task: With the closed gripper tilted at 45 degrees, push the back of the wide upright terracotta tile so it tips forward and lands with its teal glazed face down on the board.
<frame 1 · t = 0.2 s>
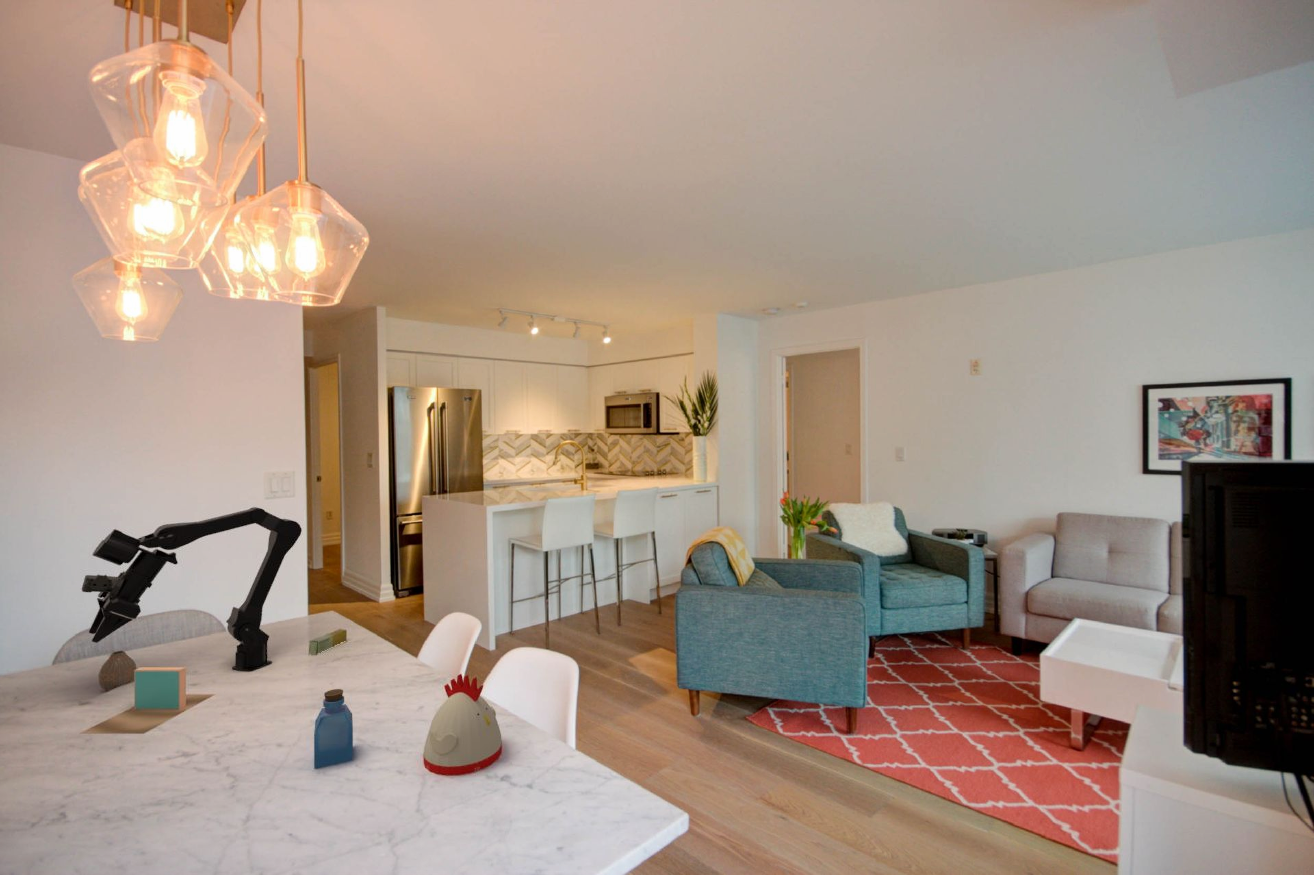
hand: (92, 637, 138), 15 cm above the table, tool tilted 35°, fingers open, 9 cm apart
perfume bottle: (333, 758, 113), on the table
medication box: (328, 649, 175), on the table
board: (152, 719, 130), on the table
vase: (118, 689, 146), on the table
tile: (160, 708, 132), point 1 cm above the table, touching board
kitchen timer: (463, 757, 113), on the table
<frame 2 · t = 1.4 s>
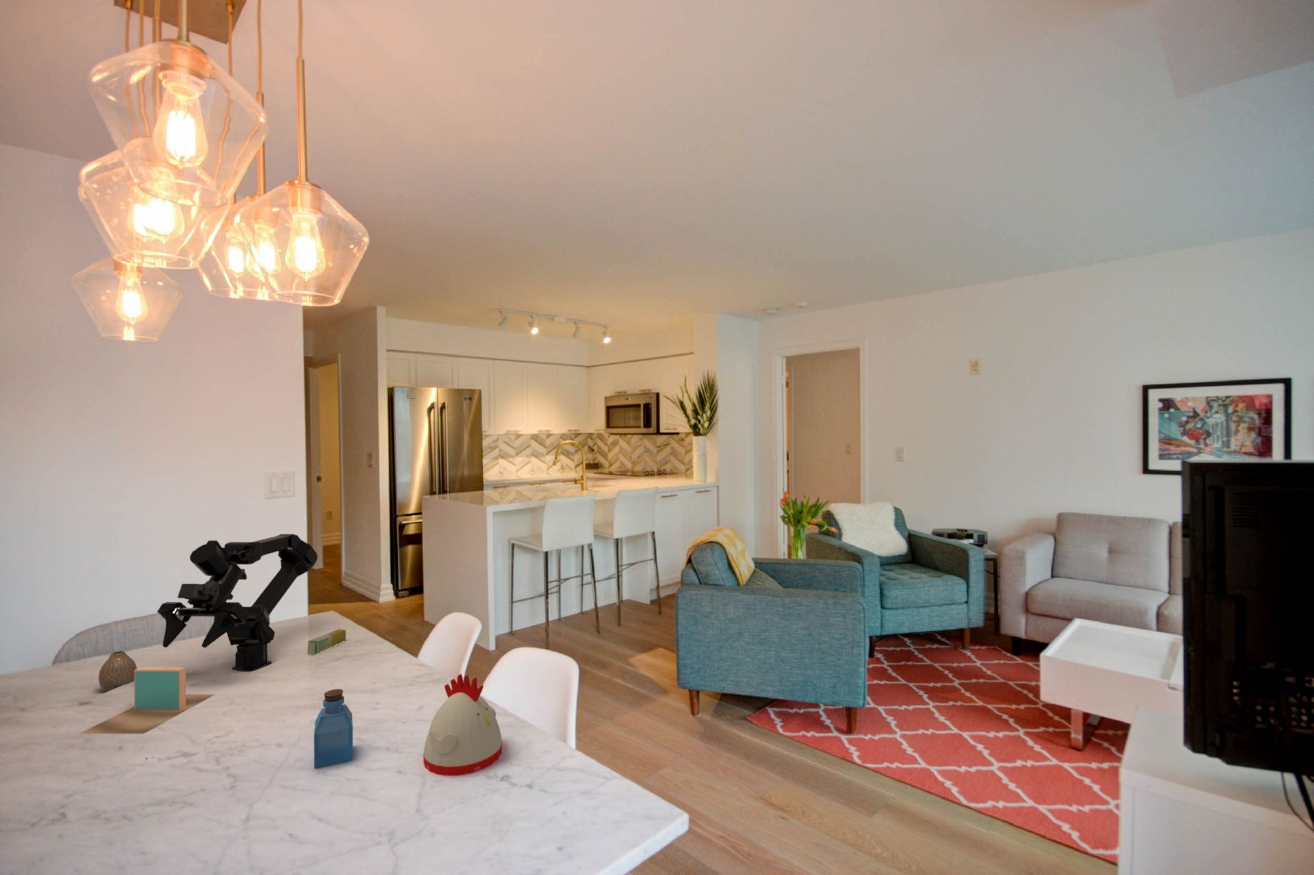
hand: (183, 646, 139), 12 cm above the table, tool tilted 45°, fingers open, 9 cm apart
nothing on the table moved.
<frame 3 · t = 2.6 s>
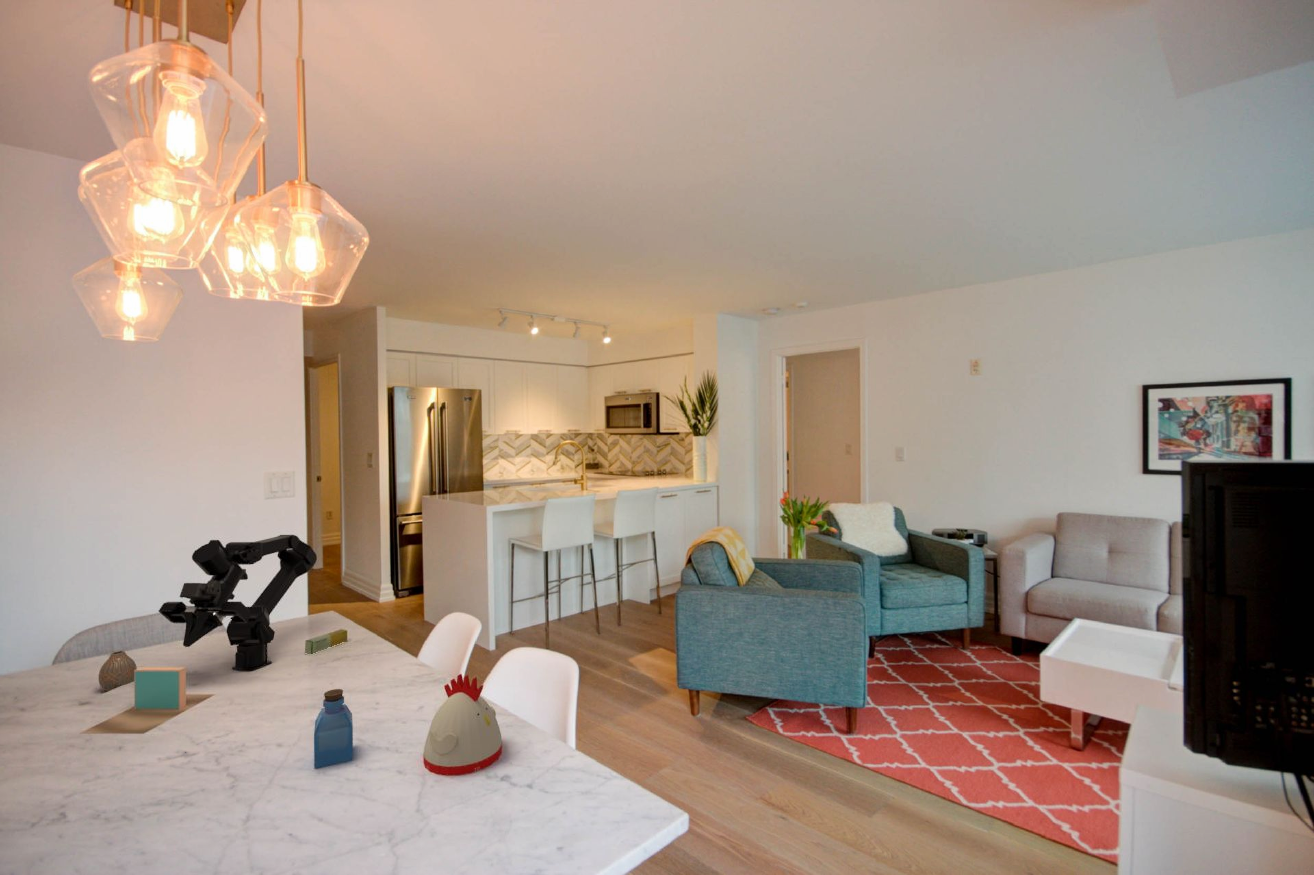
hand: (185, 646, 139), 13 cm above the table, tool tilted 45°, fingers closed
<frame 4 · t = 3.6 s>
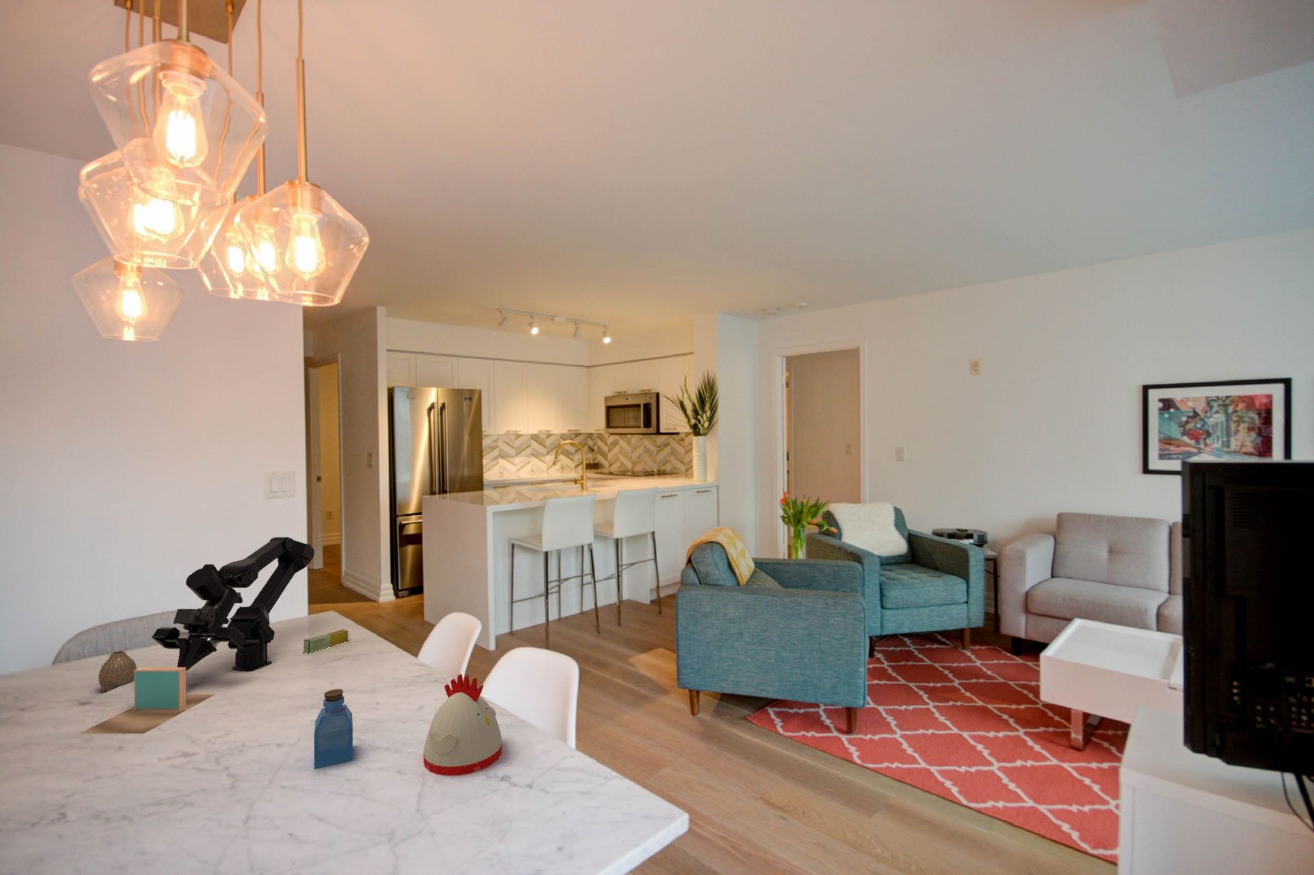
hand: (179, 673, 137), 7 cm above the table, tool tilted 45°, fingers closed
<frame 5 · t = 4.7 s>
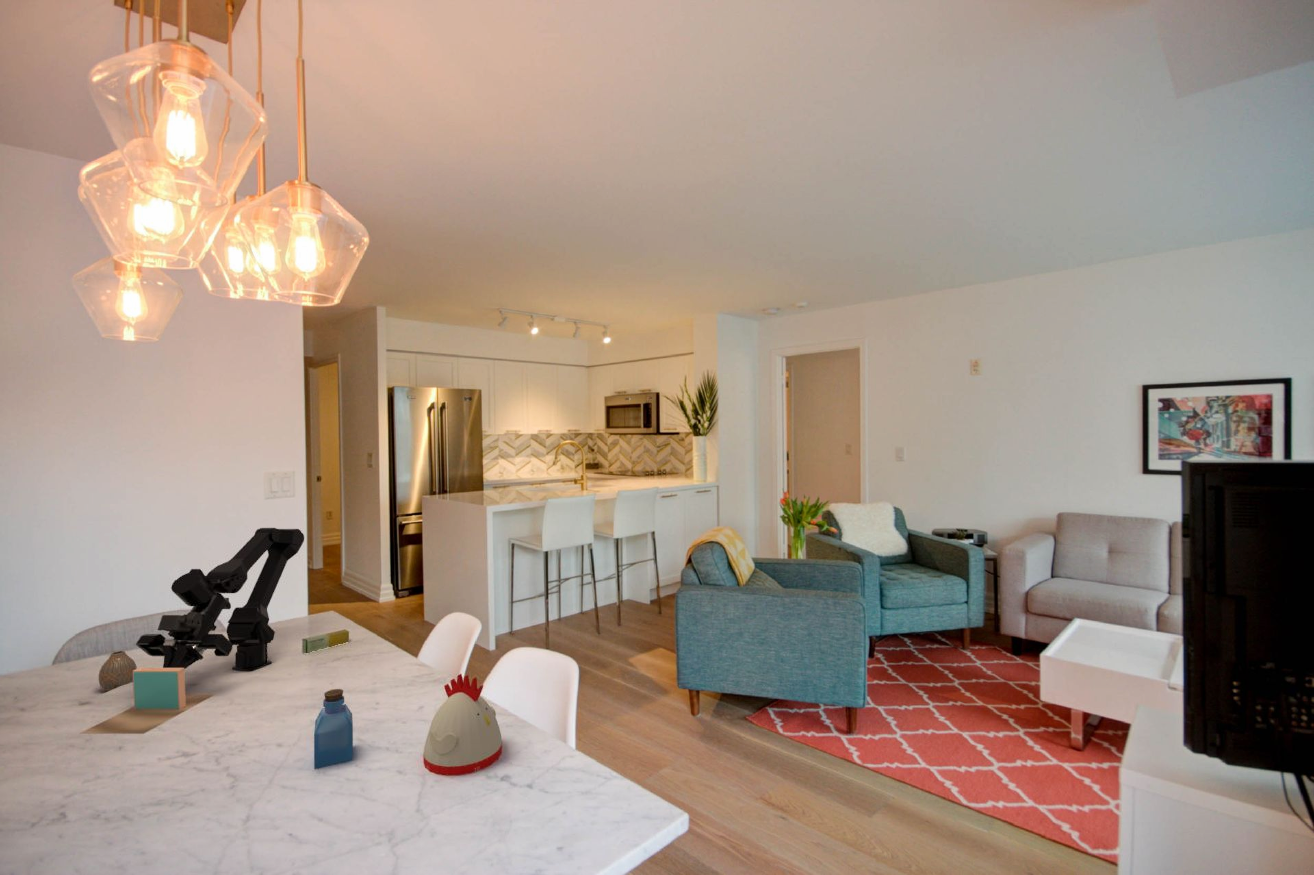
hand: (163, 681, 132), 7 cm above the table, tool tilted 45°, fingers closed, pressing on tile
tile: (160, 708, 132), point 2 cm above the table, touching board, gripper
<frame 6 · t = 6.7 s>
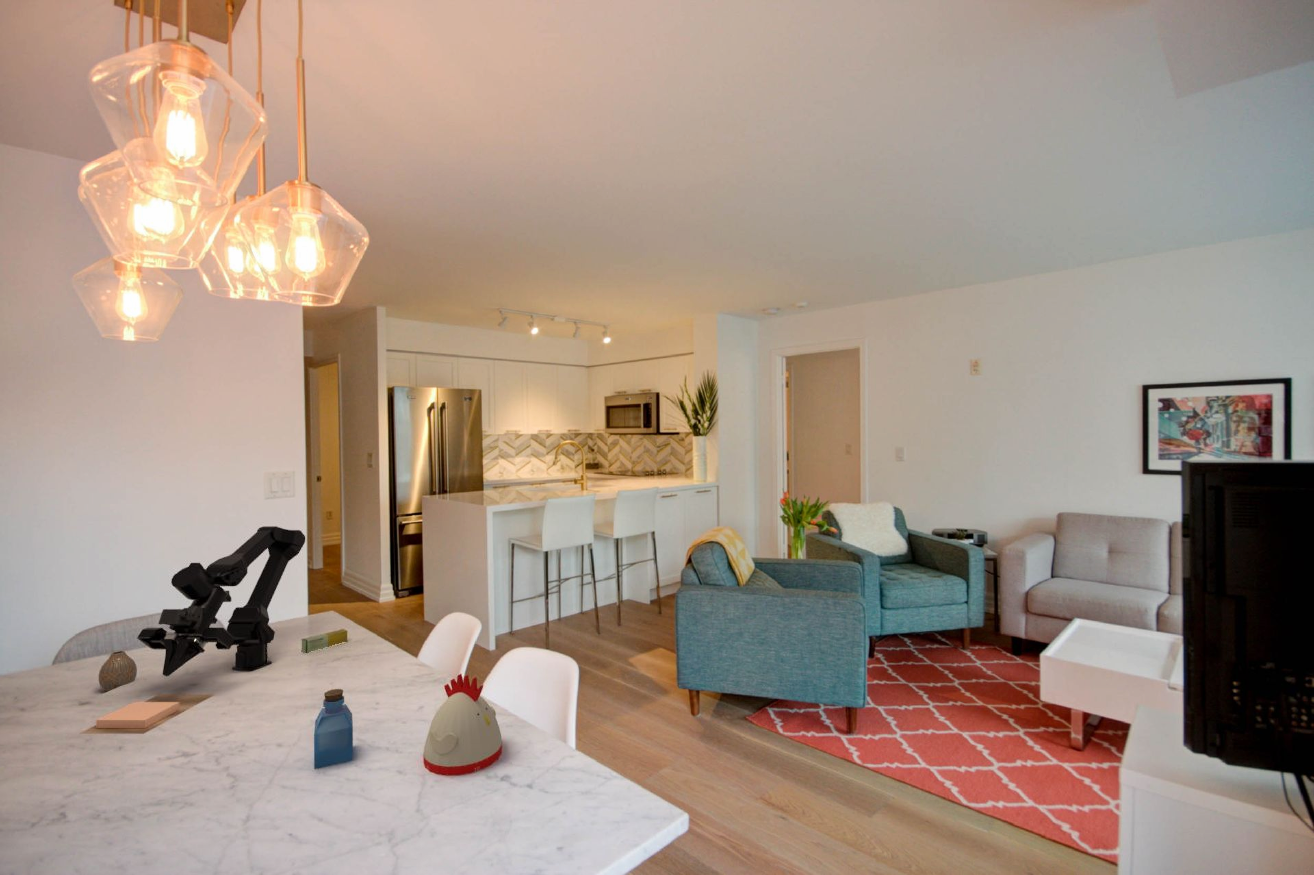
hand: (165, 675, 133), 8 cm above the table, tool tilted 45°, fingers closed
tile: (156, 705, 131), point 2 cm above the table, tilted 90°, touching board
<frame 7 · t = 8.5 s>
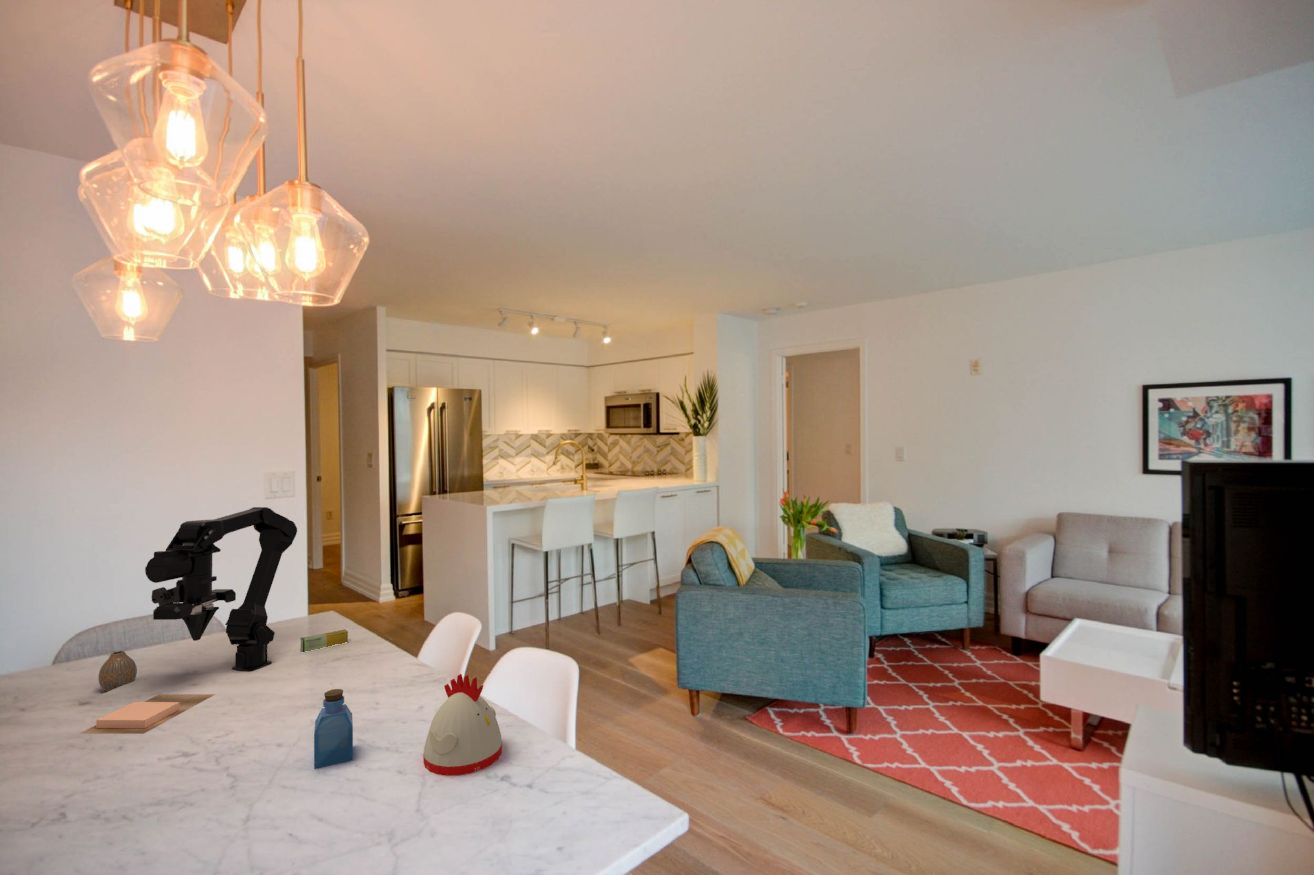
hand: (196, 640, 145), 12 cm above the table, tool pointing down, fingers closed
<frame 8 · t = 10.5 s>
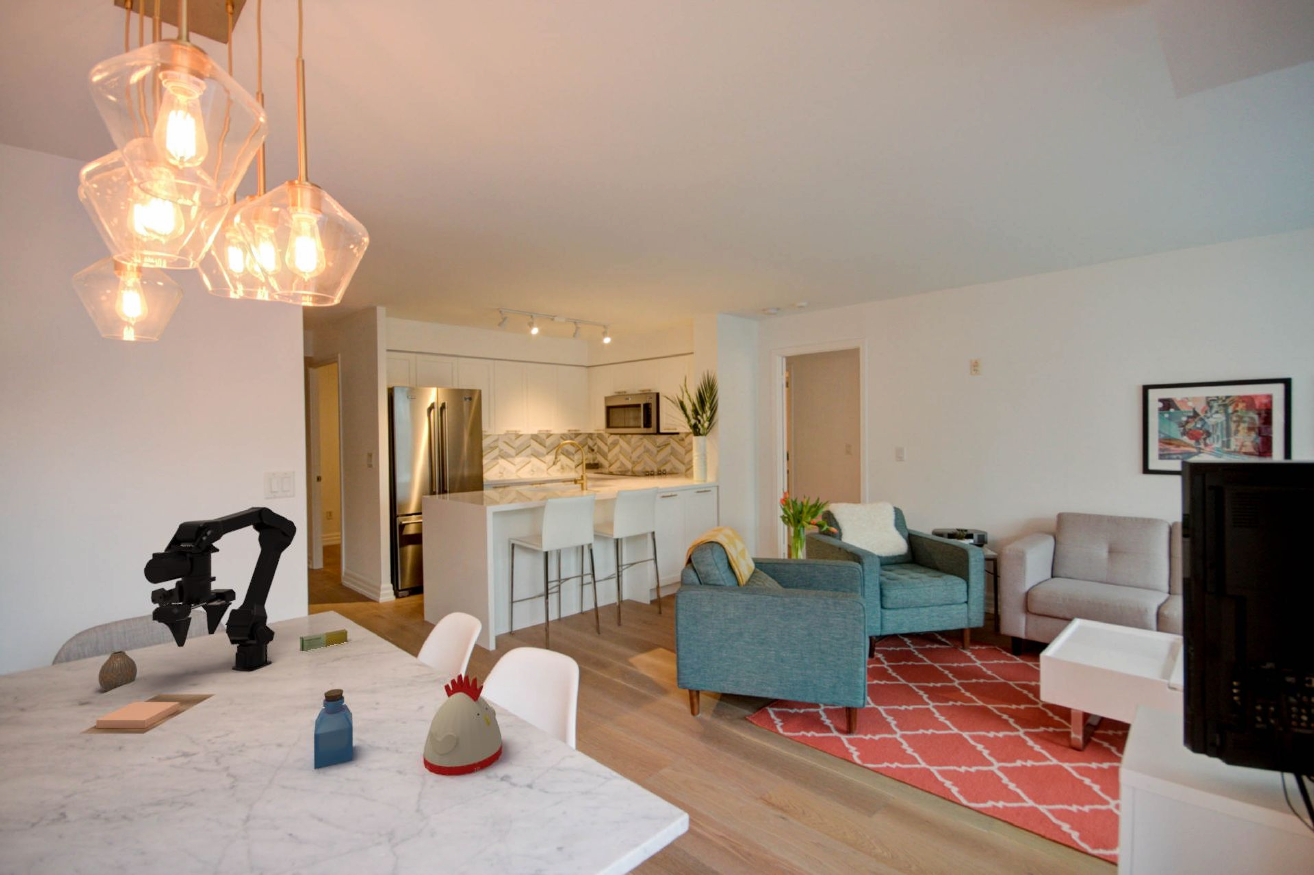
hand: (196, 640, 145), 12 cm above the table, tool pointing down, fingers open, 9 cm apart
at the end: tile tilted 90°; tile inside the target area on the board (1.1 cm from its centre), point 2.4 cm above the board's base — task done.
